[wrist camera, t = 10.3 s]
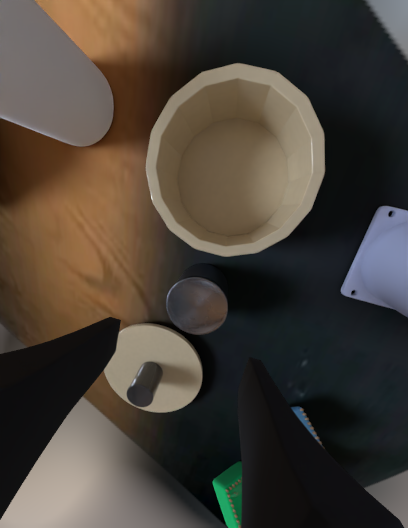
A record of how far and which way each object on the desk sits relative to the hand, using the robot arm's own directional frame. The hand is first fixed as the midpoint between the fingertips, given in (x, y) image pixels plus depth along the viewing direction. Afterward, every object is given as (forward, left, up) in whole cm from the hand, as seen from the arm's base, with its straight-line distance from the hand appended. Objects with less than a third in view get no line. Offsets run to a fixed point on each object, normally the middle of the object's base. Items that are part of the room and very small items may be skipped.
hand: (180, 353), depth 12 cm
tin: (0, 0, -10) cm, 10 cm away
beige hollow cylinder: (0, -10, -10) cm, 14 cm away
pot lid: (+3, +10, -10) cm, 14 cm away
